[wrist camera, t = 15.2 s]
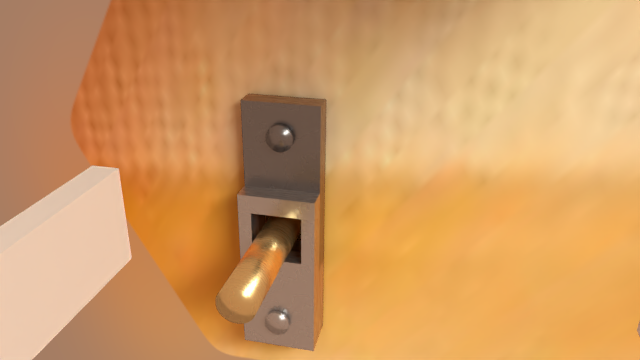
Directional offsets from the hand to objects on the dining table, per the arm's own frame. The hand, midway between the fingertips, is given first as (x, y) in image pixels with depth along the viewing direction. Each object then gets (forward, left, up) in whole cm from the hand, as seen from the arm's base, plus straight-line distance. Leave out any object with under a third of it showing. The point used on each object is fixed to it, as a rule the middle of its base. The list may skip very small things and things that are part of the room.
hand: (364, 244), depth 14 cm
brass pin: (+19, -12, -35) cm, 41 cm away
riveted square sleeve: (+19, -12, -35) cm, 41 cm away
